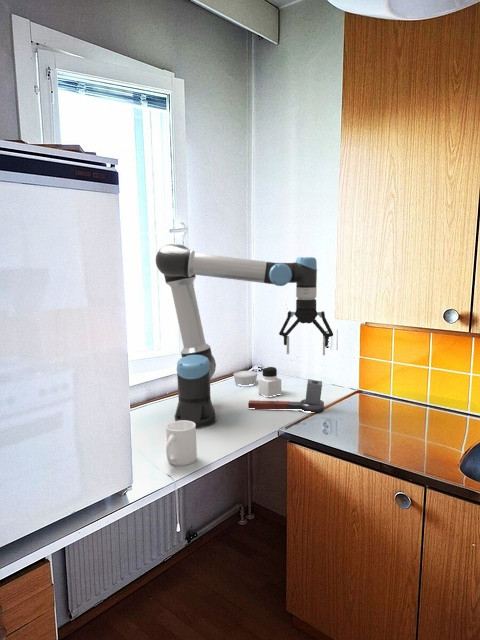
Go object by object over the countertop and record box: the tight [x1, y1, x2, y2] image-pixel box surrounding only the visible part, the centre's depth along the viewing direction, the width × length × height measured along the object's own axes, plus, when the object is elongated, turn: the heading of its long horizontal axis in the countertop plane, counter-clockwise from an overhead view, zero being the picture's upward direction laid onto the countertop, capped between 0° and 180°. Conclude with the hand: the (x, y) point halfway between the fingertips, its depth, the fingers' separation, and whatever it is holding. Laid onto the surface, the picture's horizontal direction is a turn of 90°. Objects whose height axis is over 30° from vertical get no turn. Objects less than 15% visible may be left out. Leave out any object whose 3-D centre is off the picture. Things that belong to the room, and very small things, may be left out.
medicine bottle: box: [257, 366, 282, 397], centre depth 199 cm, size 7×7×12 cm
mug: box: [165, 420, 198, 467], centre depth 135 cm, size 9×12×11 cm
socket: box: [305, 379, 323, 405], centre depth 177 cm, size 5×5×8 cm
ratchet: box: [247, 398, 325, 414], centre depth 180 cm, size 29×9×6 cm, turn 81°
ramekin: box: [233, 370, 258, 385], centre depth 217 cm, size 11×11×5 cm
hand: (305, 354), depth 177 cm, fingers open, 13 cm apart
